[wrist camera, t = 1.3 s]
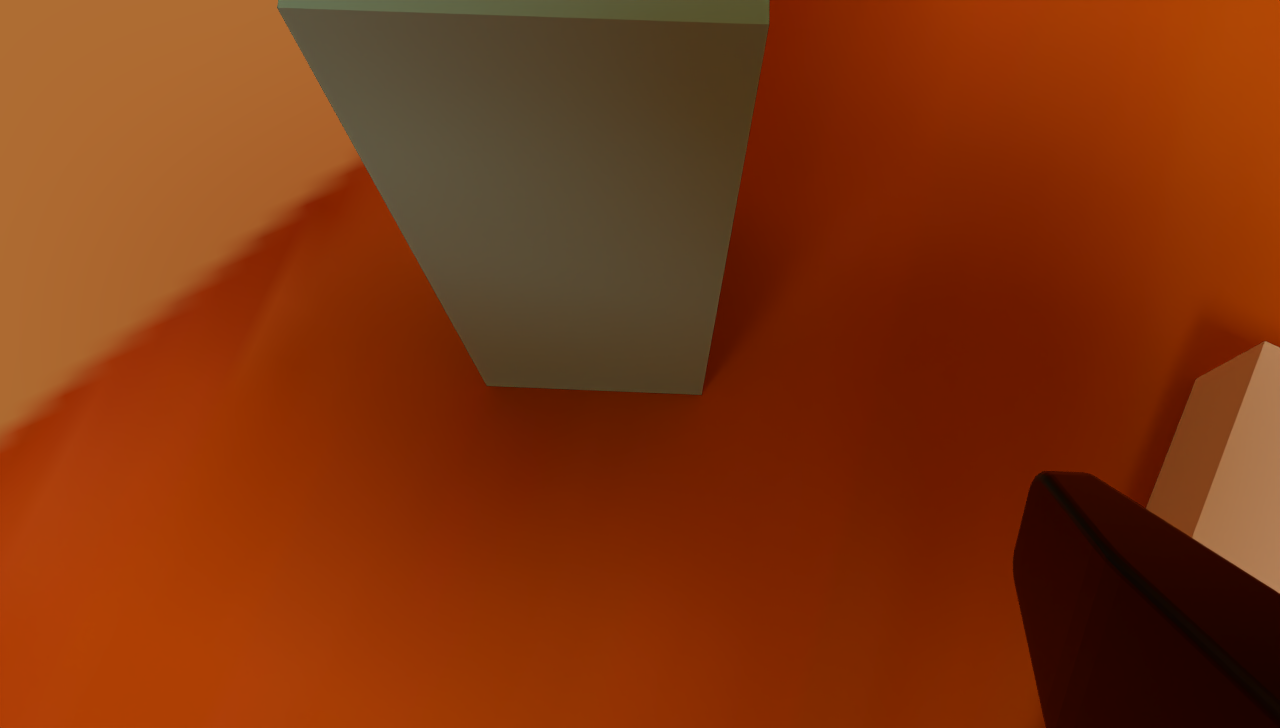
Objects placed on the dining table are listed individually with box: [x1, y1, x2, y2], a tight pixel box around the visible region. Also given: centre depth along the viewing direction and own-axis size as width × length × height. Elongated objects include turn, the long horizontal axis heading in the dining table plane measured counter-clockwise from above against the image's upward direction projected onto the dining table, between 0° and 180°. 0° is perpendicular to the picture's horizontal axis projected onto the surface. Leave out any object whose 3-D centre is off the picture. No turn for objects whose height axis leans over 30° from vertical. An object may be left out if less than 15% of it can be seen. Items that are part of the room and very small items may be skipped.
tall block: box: [277, 0, 769, 395], centre depth 16 cm, size 4×4×13 cm
